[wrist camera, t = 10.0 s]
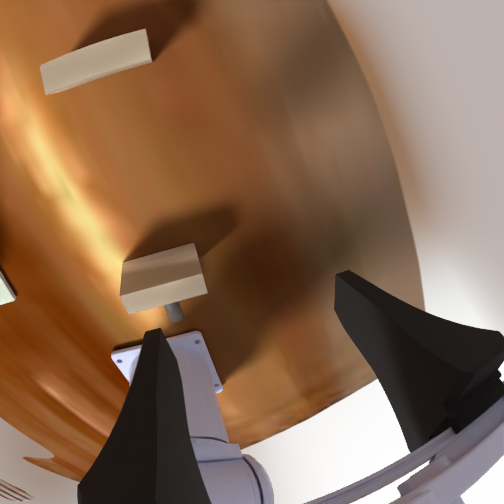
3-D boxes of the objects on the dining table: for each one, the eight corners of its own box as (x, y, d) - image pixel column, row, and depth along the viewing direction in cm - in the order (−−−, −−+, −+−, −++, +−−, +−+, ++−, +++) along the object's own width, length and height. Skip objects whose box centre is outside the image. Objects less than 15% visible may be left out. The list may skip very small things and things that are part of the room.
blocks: (206, 287, 23) (216, 320, 20) (141, 304, 22) (143, 339, 19) (147, 37, 13) (145, 28, 10) (61, 66, 12) (39, 65, 9)
